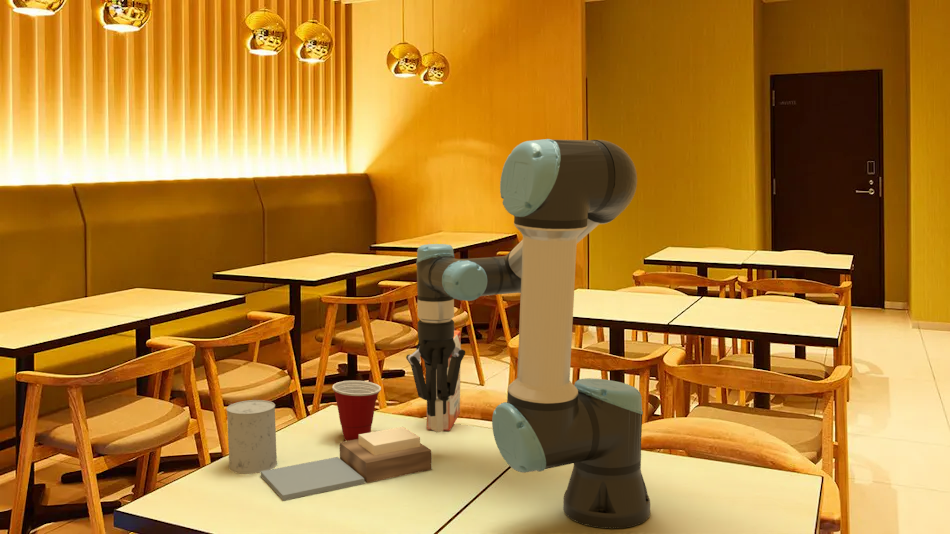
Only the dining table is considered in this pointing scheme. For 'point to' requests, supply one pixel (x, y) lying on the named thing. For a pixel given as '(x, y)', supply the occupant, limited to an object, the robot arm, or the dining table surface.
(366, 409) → the plastic cup
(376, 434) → the tile
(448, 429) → the cracker box
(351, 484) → the mat
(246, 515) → the dining table surface
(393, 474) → the brown block
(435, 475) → the dining table surface
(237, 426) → the speckled stone pillar
